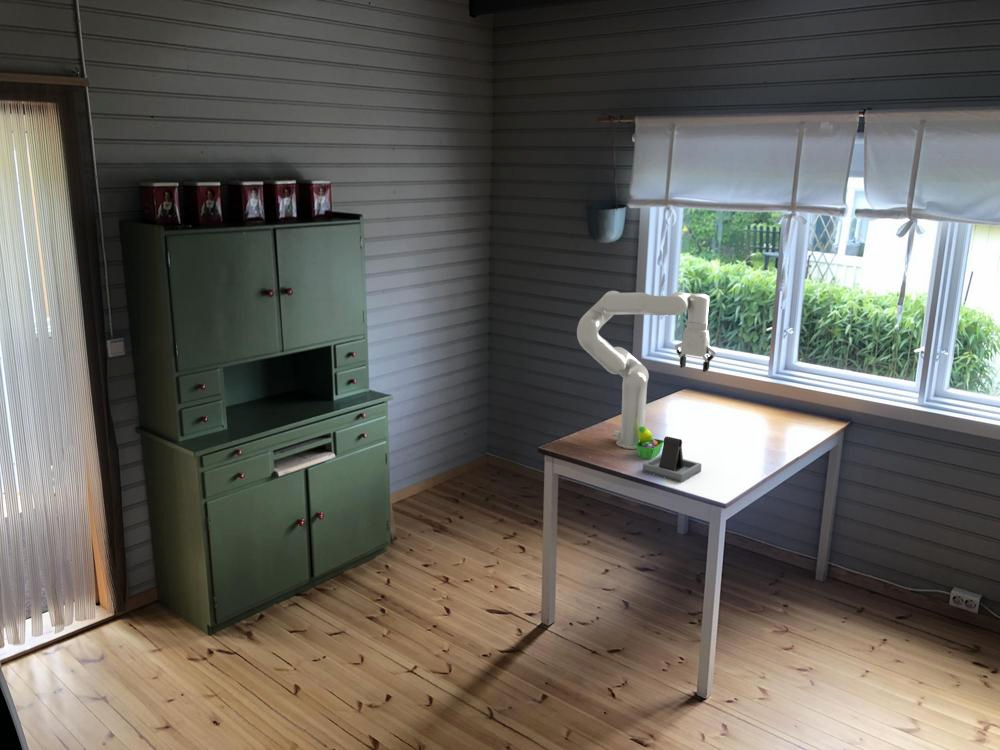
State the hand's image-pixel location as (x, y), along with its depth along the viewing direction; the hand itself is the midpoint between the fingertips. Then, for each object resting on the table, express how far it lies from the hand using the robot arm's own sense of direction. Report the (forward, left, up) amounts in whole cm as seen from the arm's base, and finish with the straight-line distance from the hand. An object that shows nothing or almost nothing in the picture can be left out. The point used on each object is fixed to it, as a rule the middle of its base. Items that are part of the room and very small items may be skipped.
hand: (694, 369), depth 313 cm
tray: (+7, -26, -33) cm, 43 cm away
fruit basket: (-9, -16, -34) cm, 38 cm away
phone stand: (+7, -26, -32) cm, 42 cm away
